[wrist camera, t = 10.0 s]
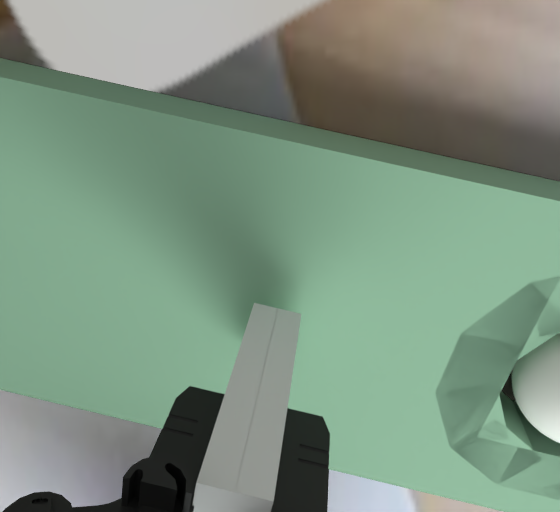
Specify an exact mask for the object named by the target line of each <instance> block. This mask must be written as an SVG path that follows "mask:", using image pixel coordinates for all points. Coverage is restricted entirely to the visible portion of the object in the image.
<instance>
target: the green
mask: <svg viewBox="0 0 560 512" xmlns="http://www.w3.org/2000/svg"><path fill="white" fill-rule="evenodd" d="M254 303H257V304H262V305H266V306H270V307H274V308H279V309H283V310H287V311H291V312H296V313H300V314H301V321H300V327H299V334H298V341H297V347H296V354H295V361H294V368H293V374H292V381H291V388H290V395H289V401H288V408H289V409H294V410H298V411H302V412H306V413H310V414H314V415H319V416H323V418H324V421H325V423H326V425H327V428H328V430H329V432H330V449H329V467H328V469H330V470H334V471H338V472H343V473H347V474H351V475H355V476H359V477H363V478H367V479H371V480H376V481H380V482H384V483H388V484H392V485H396V486H400V487H404V488H409V489H413V490H417V491H421V492H425V493H429V494H433V495H438V496H442V497H446V498H450V499H454V500H458V501H462V502H466V503H471V504H475V505H479V506H483V507H487V508H491V509H495V510H500V511H504V512H560V443H558V442H556V441H554V440H552V439H550V438H549V437H547V436H545V435H544V434H542V433H541V432H540V431H538V430H537V429H536V428H535V427H534V426H533V425H532V424H531V423H530V422H529V421H528V420H527V419H526V417H525V416H524V414H523V413H522V412H521V410H520V408H519V406H518V404H517V402H515V401H512V400H511V399H510V398H509V397H507V396H506V395H505V394H504V393H503V392H502V391H501V390H502V389H503V387H504V385H505V383H506V381H507V379H508V377H509V375H510V373H511V371H512V369H513V367H514V366H515V364H516V362H517V360H518V359H520V358H521V357H523V356H524V355H526V354H527V353H529V352H530V351H532V350H533V349H535V348H536V347H538V346H540V345H541V344H543V343H544V342H546V341H547V340H549V339H550V338H552V337H553V336H555V335H556V334H558V333H560V182H559V181H555V180H550V179H546V178H541V177H537V176H532V175H528V174H523V173H518V172H514V171H509V170H505V169H500V168H496V167H491V166H487V165H482V164H478V163H473V162H469V161H464V160H460V159H455V158H451V157H446V156H442V155H437V154H432V153H428V152H423V151H419V150H414V149H410V148H405V147H401V146H396V145H392V144H387V143H383V142H378V141H374V140H369V139H365V138H360V137H355V136H351V135H346V134H342V133H337V132H333V131H328V130H324V129H319V128H315V127H310V126H306V125H301V124H297V123H292V122H288V121H283V120H279V119H274V118H269V117H265V116H260V115H256V114H251V113H247V112H242V111H238V110H233V109H229V108H224V107H220V106H215V105H211V104H206V103H202V102H197V101H193V100H188V99H183V98H179V97H174V96H170V95H165V94H161V93H156V92H152V91H147V90H143V89H138V88H134V87H129V86H124V85H120V84H115V83H111V82H107V81H102V80H97V79H93V78H88V77H84V76H79V75H75V74H70V73H66V72H61V71H57V70H52V69H48V68H43V67H39V66H34V65H30V64H25V63H20V62H16V61H11V60H7V59H2V58H0V390H4V391H8V392H12V393H16V394H20V395H24V396H28V397H33V398H37V399H41V400H45V401H49V402H53V403H57V404H62V405H66V406H70V407H74V408H78V409H82V410H86V411H90V412H95V413H99V414H103V415H107V416H111V417H115V418H119V419H124V420H128V421H132V422H136V423H140V424H144V425H148V426H152V427H157V428H161V429H163V426H164V424H165V421H166V419H167V417H168V416H169V413H170V410H171V408H172V406H173V404H174V401H175V399H176V397H178V396H179V395H180V394H181V393H182V392H183V391H185V390H186V389H187V388H188V387H189V386H192V387H197V388H201V389H205V390H209V391H213V392H217V393H222V394H225V392H226V389H227V386H228V383H229V379H230V376H231V373H232V370H233V367H234V364H235V361H236V358H237V355H238V351H239V348H240V345H241V342H242V339H243V336H244V333H245V330H246V327H247V323H248V320H249V317H250V314H251V311H252V308H253V305H254Z"/></svg>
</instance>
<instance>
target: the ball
mask: <svg viewBox="0 0 560 512" xmlns="http://www.w3.org/2000/svg"><path fill="white" fill-rule="evenodd" d="M512 388H513V393H514V397H515V399H516V402H517V404H518V406H519V408H520V410H521V412H522V413H523V414H524V416H525V417H526V419H527V420H528V421H529V422H530V423H531V424H532V425H533V426H534V427H535V428H536V429H537V430H538V431H540V432H541V433H542V434H544V435H545V436H547V437H549V438H550V439H552V440H554V441H556V442H558V443H560V333H558V334H556V335H555V336H553V337H552V338H550V339H549V340H547V341H546V342H544V343H543V344H541V345H540V346H538V347H536V348H535V349H533V350H532V351H530V352H529V353H527V354H526V355H524V356H523V357H521V358H520V359H518V360H517V362H516V364H515V366H514V367H513V369H512Z"/></svg>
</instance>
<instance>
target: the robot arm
mask: <svg viewBox="0 0 560 512" xmlns="http://www.w3.org/2000/svg"><path fill="white" fill-rule="evenodd" d="M300 321H301V314H300V313H296V312H291V311H287V310H283V309H279V308H274V307H270V306H266V305H262V304H257V303H254V305H253V308H252V311H251V314H250V317H249V320H248V323H247V327H246V330H245V333H244V336H243V339H242V342H241V345H240V348H239V351H238V355H237V358H236V361H235V364H234V367H233V370H232V373H231V376H230V379H229V383H228V386H227V389H226V392H225V394H222V393H217V392H213V391H209V390H205V389H201V388H197V387H192V386H189V387H188V388H187V389H186V390H185V391H183V392H182V393H181V394H180V395H179V396H178V397H176V399H175V401H174V404H173V406H172V408H171V410H170V413H169V416H168V417H167V419H166V421H165V424H164V426H163V429H162V430H161V433H160V435H159V437H158V439H157V442H156V444H155V446H154V448H153V451H152V453H151V455H150V457H149V458H146V459H142V460H141V461H139V462H137V463H136V464H134V465H133V466H131V467H130V469H129V470H128V471H127V473H126V474H125V475H124V477H123V488H122V498H121V499H119V500H117V501H114V502H111V503H109V504H104V505H98V506H86V507H73V508H72V506H71V503H70V502H69V501H68V500H67V499H65V498H64V497H63V496H62V495H59V494H56V493H52V492H36V493H32V494H29V495H27V496H24V497H22V498H19V499H18V500H17V501H15V502H14V503H12V504H11V505H10V506H8V507H7V508H6V509H5V510H4V511H3V512H327V503H328V476H329V469H328V467H329V449H330V432H329V430H328V428H327V425H326V423H325V421H324V418H323V416H319V415H314V414H310V413H306V412H302V411H298V410H294V409H289V408H288V401H289V395H290V388H291V381H292V374H293V368H294V361H295V354H296V347H297V341H298V334H299V327H300Z"/></svg>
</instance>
